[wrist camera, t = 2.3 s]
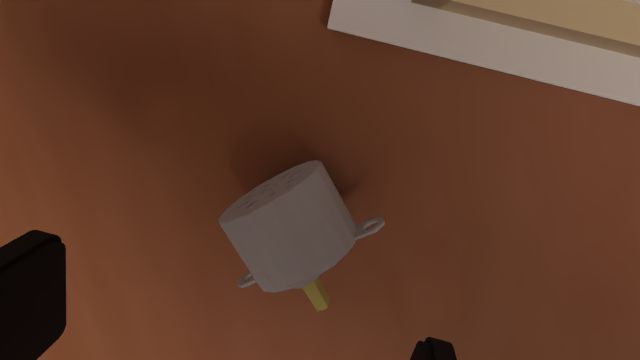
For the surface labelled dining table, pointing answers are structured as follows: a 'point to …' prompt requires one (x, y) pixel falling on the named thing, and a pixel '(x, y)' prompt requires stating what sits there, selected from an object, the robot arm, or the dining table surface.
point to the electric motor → (293, 231)
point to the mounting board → (514, 37)
